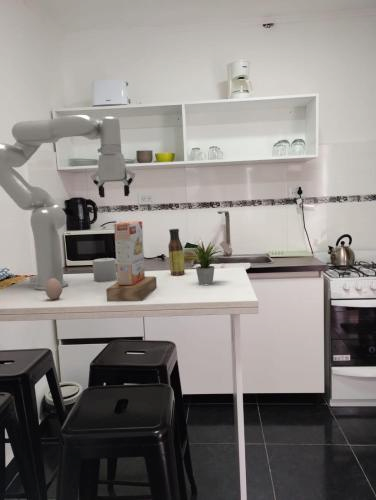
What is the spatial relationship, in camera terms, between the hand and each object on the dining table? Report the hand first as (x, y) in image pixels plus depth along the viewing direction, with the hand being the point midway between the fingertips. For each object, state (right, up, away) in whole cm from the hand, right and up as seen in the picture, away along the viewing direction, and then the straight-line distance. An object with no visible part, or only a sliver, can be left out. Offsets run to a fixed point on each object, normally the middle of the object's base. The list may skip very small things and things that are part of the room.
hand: (114, 196), depth 157 cm
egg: (-18, -38, -16) cm, 44 cm away
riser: (+9, -36, -13) cm, 39 cm away
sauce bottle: (+24, -31, +21) cm, 44 cm away
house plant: (+35, -33, -2) cm, 48 cm away
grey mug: (-7, -33, +18) cm, 38 cm away
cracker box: (+9, -32, -14) cm, 36 cm away
